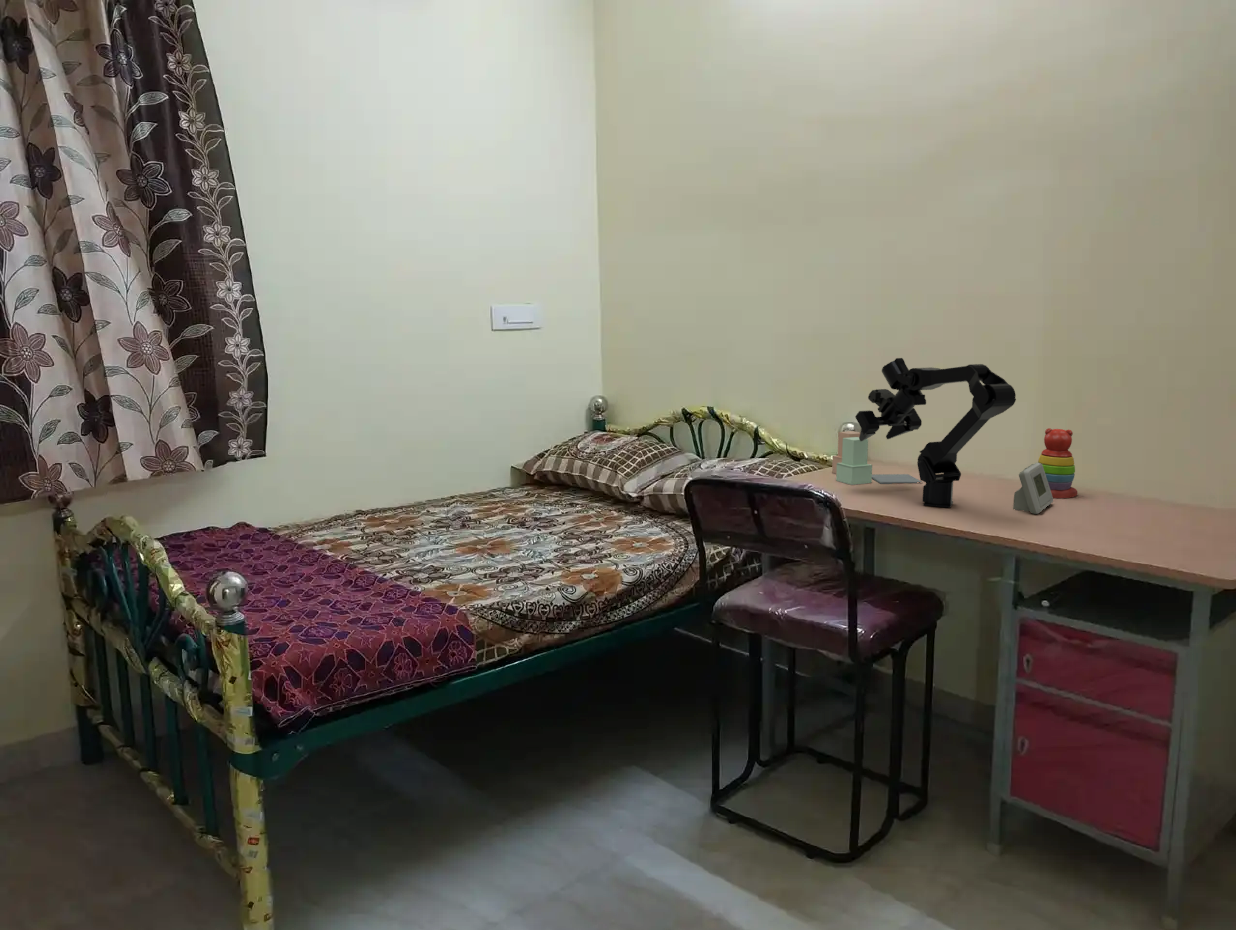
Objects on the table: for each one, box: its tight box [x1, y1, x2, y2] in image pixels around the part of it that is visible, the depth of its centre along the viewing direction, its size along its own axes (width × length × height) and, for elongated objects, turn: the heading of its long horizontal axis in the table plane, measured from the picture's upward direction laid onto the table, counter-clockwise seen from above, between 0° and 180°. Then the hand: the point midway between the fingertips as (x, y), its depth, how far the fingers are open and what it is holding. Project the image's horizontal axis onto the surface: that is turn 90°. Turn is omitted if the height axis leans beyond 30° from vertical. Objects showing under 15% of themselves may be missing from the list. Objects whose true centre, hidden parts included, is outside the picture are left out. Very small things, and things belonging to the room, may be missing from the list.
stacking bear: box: [1037, 428, 1078, 499], centre depth 247 cm, size 11×10×18 cm
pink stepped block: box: [831, 430, 860, 475], centre depth 279 cm, size 7×7×12 cm
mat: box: [872, 473, 923, 485], centre depth 270 cm, size 12×12×1 cm
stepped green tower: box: [835, 437, 873, 486], centre depth 266 cm, size 7×7×12 cm
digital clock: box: [1012, 462, 1054, 515], centre depth 232 cm, size 16×9×11 cm, turn 133°
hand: (873, 438), depth 258 cm, fingers open, 9 cm apart
